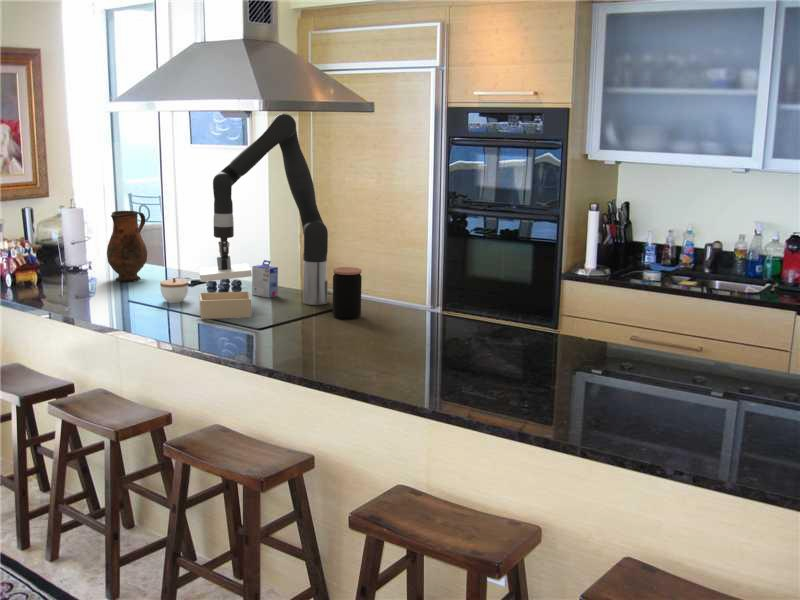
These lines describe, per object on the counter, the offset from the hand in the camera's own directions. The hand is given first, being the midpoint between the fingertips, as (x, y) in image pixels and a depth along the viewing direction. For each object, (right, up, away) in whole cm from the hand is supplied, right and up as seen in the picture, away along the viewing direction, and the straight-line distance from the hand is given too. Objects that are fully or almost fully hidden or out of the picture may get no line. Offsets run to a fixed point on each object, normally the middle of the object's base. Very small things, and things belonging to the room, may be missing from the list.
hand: (224, 268), depth 316 cm
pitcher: (-51, -3, +43) cm, 67 cm away
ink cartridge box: (+13, -11, +19) cm, 25 cm away
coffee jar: (+49, -19, -12) cm, 53 cm away
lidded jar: (-21, -13, +5) cm, 25 cm away
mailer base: (+3, -18, -14) cm, 22 cm away
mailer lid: (0, -3, +1) cm, 3 cm away
